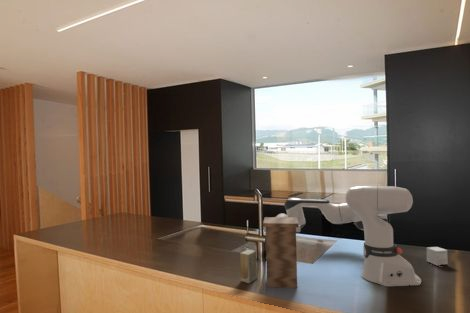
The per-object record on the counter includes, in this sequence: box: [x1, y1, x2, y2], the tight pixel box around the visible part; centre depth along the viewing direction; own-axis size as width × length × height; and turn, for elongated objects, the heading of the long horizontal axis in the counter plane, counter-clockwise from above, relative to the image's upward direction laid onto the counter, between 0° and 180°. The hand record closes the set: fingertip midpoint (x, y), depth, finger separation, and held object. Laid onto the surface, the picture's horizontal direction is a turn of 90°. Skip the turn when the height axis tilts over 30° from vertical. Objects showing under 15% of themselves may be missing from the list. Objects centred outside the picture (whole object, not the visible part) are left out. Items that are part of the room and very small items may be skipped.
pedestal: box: [262, 216, 299, 289], centre depth 130 cm, size 14×12×26 cm
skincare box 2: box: [426, 246, 449, 265], centre depth 147 cm, size 6×6×7 cm
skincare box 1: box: [239, 249, 258, 284], centre depth 133 cm, size 6×4×12 cm
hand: (281, 231), depth 166 cm, fingers open, 8 cm apart
